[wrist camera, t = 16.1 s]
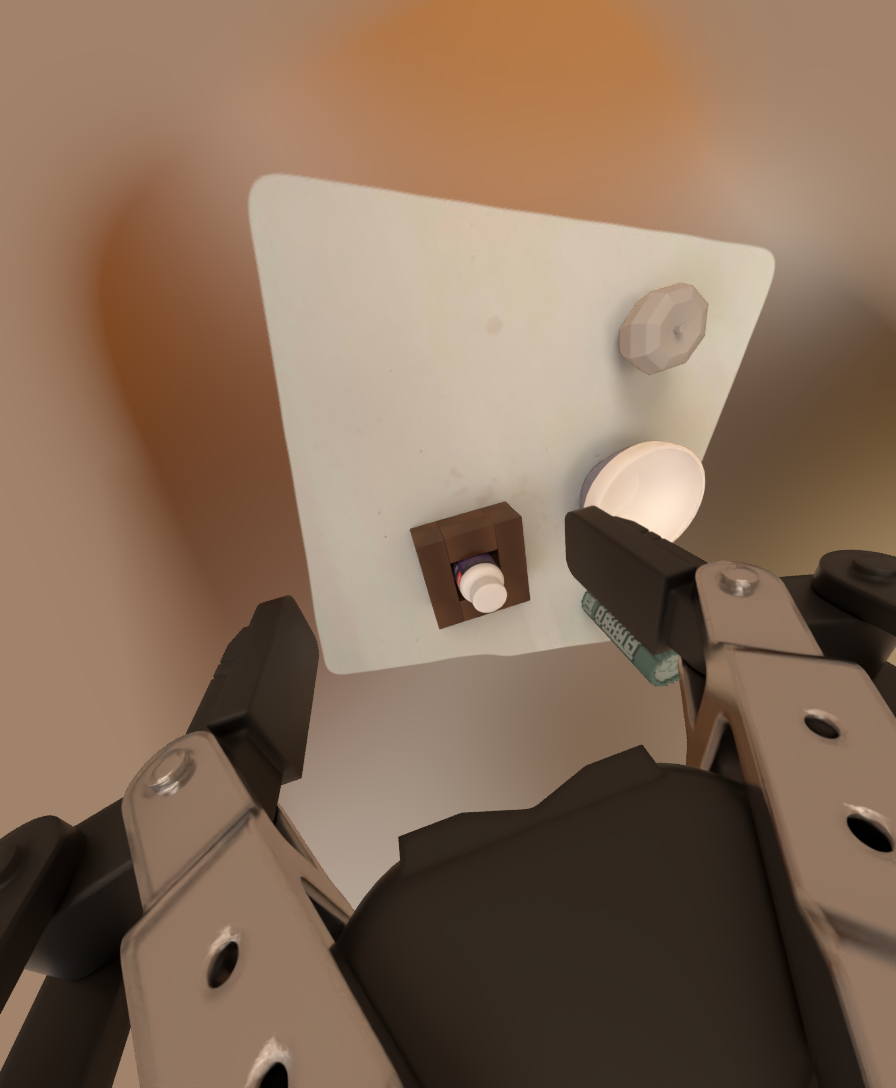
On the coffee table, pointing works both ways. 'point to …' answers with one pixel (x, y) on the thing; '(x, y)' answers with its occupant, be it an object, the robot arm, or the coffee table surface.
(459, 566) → the pill bottle
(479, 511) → the socket pad
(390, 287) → the coffee table surface
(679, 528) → the bowl
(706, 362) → the coffee table surface
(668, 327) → the apple
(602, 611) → the can
